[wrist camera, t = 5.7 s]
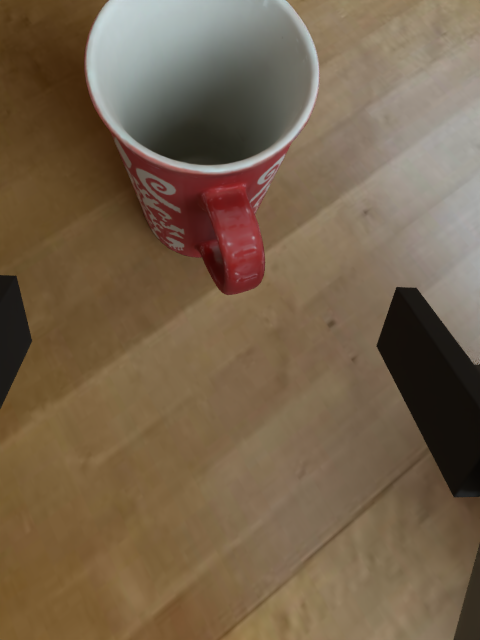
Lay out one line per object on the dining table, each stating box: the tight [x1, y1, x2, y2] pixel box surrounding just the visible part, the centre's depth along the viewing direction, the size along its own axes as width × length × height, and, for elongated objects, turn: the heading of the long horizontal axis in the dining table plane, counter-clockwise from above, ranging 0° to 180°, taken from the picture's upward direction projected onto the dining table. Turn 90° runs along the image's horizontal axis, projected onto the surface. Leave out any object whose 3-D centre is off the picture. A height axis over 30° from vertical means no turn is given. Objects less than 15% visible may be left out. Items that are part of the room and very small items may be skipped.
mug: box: [84, 0, 320, 295], centre depth 23 cm, size 13×9×14 cm
